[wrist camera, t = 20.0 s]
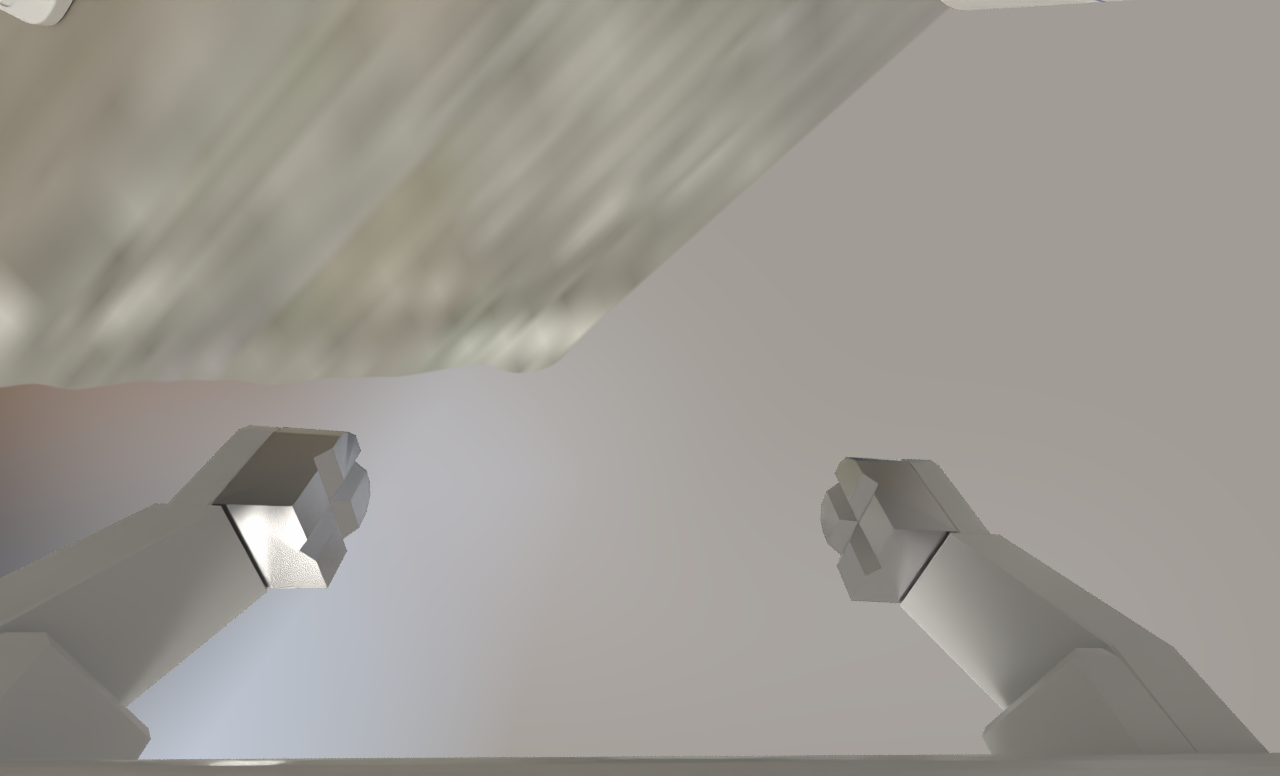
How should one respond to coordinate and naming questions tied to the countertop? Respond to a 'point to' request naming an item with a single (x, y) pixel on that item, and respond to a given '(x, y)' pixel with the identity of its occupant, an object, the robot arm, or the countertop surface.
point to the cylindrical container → (1009, 3)
